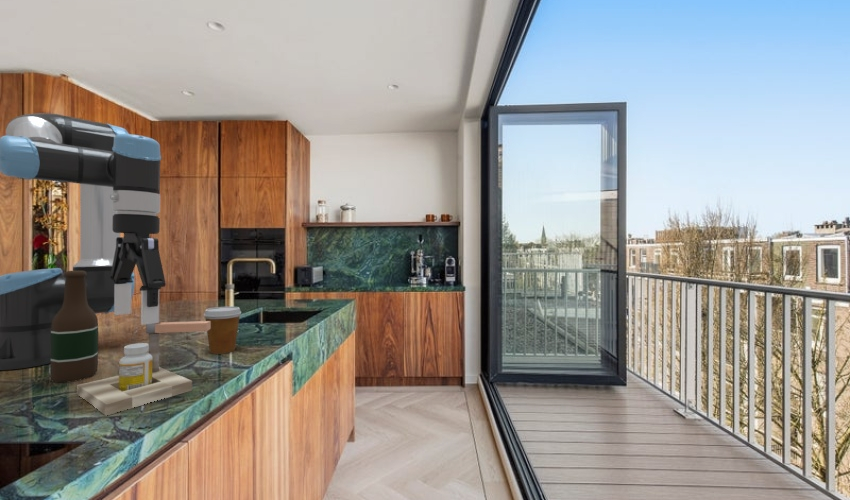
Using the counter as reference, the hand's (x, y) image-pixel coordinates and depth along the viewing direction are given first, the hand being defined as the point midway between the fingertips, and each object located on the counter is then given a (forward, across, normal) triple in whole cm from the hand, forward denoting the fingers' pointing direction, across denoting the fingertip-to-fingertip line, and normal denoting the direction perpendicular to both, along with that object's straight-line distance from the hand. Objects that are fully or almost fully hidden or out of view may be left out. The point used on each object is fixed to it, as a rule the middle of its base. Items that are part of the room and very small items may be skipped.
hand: (135, 318), depth 75 cm
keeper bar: (+4, -1, +8) cm, 9 cm away
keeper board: (+15, +1, 0) cm, 15 cm away
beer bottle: (+16, -21, -4) cm, 27 cm away
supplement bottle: (+15, +1, 0) cm, 15 cm away
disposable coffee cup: (+16, -15, +26) cm, 34 cm away
